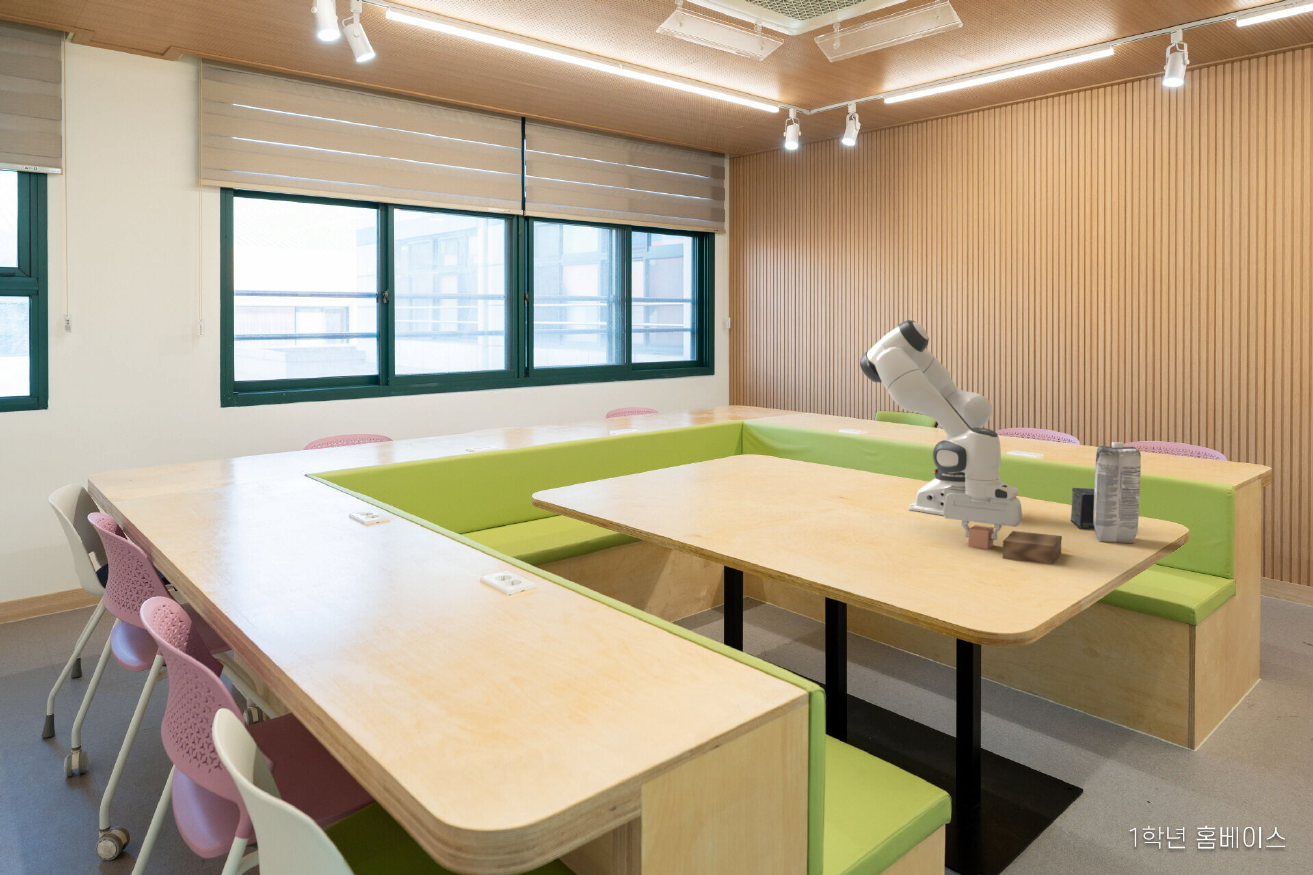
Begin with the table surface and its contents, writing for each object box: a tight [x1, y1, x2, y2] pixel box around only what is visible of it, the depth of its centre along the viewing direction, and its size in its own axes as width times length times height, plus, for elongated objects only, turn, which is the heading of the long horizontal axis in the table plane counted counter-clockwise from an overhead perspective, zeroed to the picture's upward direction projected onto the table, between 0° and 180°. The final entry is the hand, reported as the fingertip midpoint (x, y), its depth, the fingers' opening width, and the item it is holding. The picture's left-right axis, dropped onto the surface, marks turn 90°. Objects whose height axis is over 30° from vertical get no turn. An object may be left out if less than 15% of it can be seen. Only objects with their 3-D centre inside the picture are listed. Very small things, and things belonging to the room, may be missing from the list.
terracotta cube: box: [968, 524, 995, 550], centre depth 234 cm, size 5×5×5 cm
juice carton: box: [1093, 441, 1142, 544], centre depth 236 cm, size 9×10×27 cm
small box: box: [1070, 487, 1095, 530], centre depth 254 cm, size 11×6×10 cm, turn 168°
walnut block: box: [1002, 530, 1063, 565], centre depth 223 cm, size 12×12×5 cm
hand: (981, 538), depth 234 cm, fingers closed on terracotta cube, 5 cm apart
